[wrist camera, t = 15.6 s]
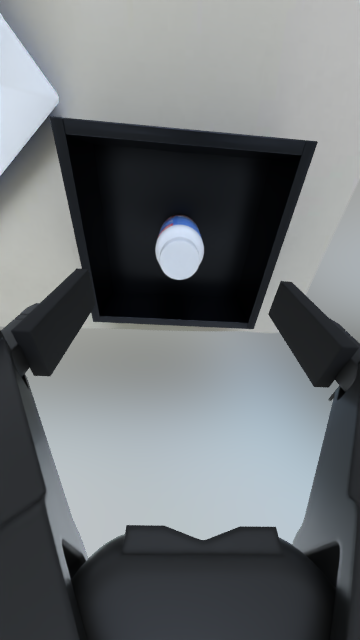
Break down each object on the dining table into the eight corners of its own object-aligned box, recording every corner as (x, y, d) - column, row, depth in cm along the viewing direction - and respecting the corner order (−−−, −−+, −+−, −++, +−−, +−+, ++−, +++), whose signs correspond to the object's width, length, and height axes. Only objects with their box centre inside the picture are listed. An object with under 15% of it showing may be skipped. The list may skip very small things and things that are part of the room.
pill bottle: (167, 206, 26) (164, 220, 18) (205, 224, 28) (217, 244, 20) (153, 247, 29) (145, 274, 21) (188, 261, 30) (193, 292, 22)
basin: (279, 150, 24) (318, 141, 17) (239, 300, 35) (253, 329, 29) (85, 132, 23) (49, 116, 16) (109, 293, 34) (93, 321, 28)
